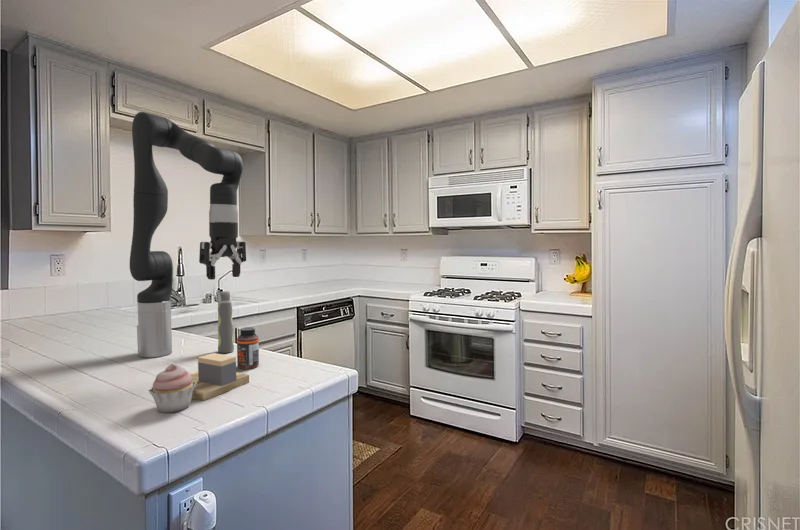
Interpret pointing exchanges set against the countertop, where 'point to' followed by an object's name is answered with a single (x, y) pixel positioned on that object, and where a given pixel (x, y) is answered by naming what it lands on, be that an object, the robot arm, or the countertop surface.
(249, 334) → the supplement bottle
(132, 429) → the countertop surface
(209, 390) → the slatted wooden trivet
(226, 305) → the grey water bottle
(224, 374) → the block
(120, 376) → the countertop surface
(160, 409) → the cupcake
